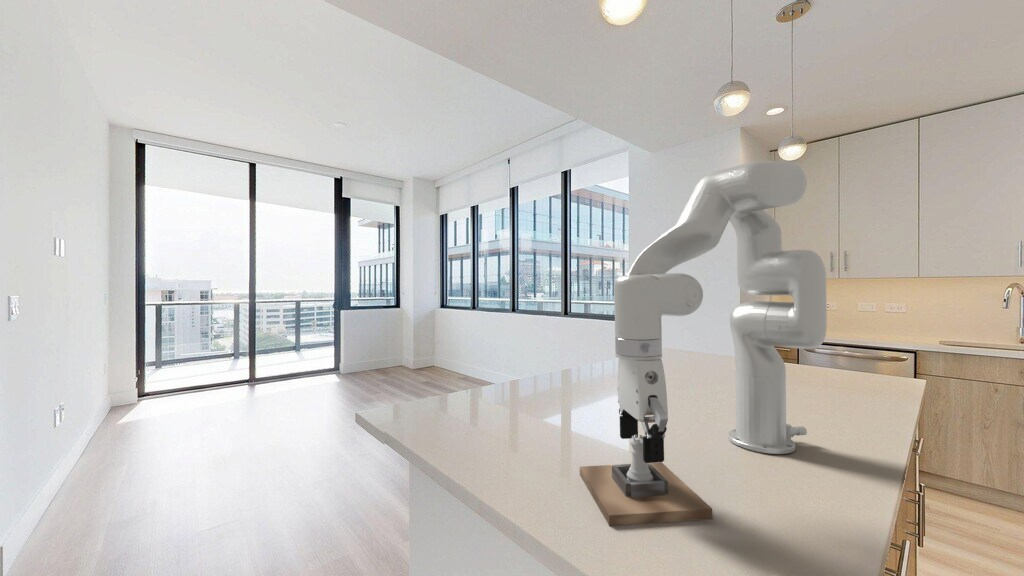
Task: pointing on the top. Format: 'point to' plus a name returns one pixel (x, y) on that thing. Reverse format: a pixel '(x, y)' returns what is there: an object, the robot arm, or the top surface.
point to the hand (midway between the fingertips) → (640, 448)
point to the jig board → (642, 496)
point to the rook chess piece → (638, 462)
